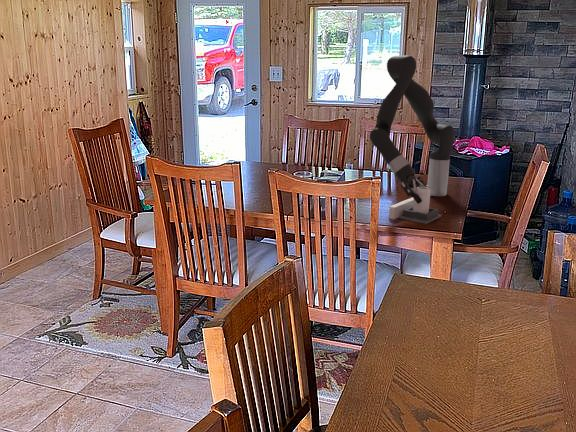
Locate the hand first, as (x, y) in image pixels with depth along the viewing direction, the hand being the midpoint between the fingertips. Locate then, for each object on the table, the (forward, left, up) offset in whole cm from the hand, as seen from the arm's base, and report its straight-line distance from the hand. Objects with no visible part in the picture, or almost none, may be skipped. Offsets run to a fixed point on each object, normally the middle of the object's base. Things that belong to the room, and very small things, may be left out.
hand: (425, 200), depth 233 cm
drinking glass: (+17, -39, -8) cm, 44 cm away
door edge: (0, -9, -7) cm, 12 cm away
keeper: (0, -1, -7) cm, 8 cm away
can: (0, -2, -7) cm, 7 cm away
